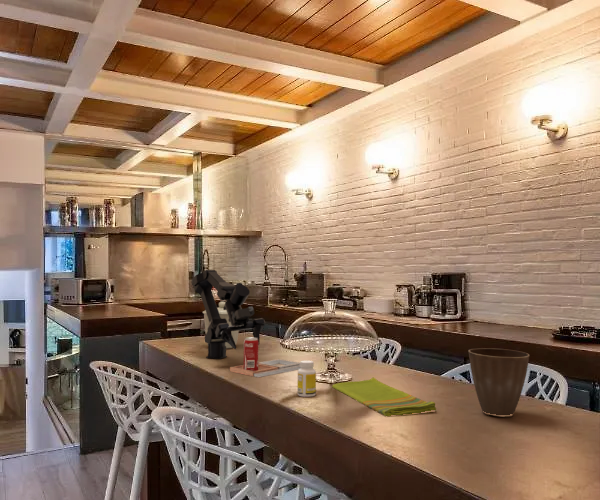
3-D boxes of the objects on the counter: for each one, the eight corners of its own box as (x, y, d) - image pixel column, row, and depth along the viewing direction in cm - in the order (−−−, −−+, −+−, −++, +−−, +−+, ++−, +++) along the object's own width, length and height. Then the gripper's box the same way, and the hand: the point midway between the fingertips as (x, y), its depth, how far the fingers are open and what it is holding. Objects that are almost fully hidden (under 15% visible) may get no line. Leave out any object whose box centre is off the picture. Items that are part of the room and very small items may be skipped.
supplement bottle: (318, 393, 164) (318, 360, 164) (312, 398, 159) (312, 363, 159) (300, 392, 165) (301, 359, 166) (294, 396, 160) (295, 362, 161)
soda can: (247, 369, 200) (247, 336, 200) (260, 370, 198) (260, 337, 199) (240, 372, 195) (241, 338, 195) (254, 373, 193) (255, 339, 194)
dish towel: (385, 419, 139) (385, 406, 139) (331, 389, 173) (331, 378, 173) (438, 414, 144) (438, 402, 144) (375, 386, 178) (375, 376, 178)
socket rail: (258, 377, 187) (258, 372, 187) (229, 371, 197) (229, 367, 197) (306, 367, 205) (306, 363, 206) (278, 362, 215) (278, 359, 215)
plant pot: (501, 405, 153) (501, 347, 154) (542, 419, 139) (542, 355, 140) (456, 409, 148) (456, 349, 148) (494, 424, 134) (494, 358, 134)
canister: (239, 350, 244) (239, 303, 245) (198, 350, 245) (199, 302, 245) (243, 345, 263) (244, 300, 263) (205, 344, 263) (206, 300, 263)
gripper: (216, 302, 203) (228, 338, 194) (262, 297, 212) (276, 331, 203) (210, 320, 210) (221, 355, 202) (255, 314, 219) (267, 347, 210)
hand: (247, 346), depth 204 cm, fingers open, 9 cm apart
